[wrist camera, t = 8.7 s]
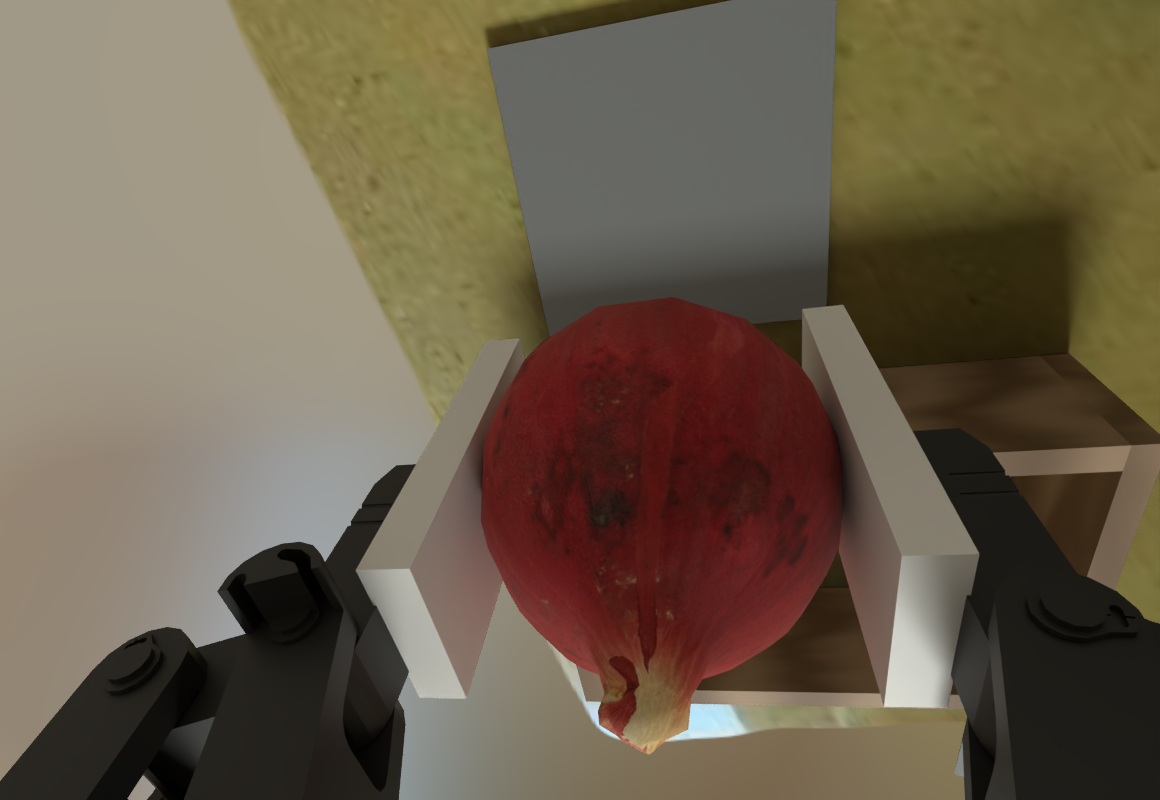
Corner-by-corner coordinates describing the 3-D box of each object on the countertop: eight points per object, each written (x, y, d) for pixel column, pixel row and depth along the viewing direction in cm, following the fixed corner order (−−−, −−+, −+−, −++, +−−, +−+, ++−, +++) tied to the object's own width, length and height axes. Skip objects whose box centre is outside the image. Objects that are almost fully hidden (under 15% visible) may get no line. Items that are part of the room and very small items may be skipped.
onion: (498, 264, 13) (300, 553, 6) (793, 212, 11) (956, 507, 5) (564, 484, 16) (478, 844, 9) (805, 463, 14) (916, 864, 8)
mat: (833, -21, 23) (837, -21, 22) (823, 311, 29) (826, 316, 29) (490, 47, 25) (486, 48, 25) (552, 338, 32) (550, 343, 31)
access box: (1069, 353, 29) (1169, 443, 23) (1006, 599, 37) (1068, 711, 31) (551, 394, 34) (525, 477, 28) (599, 603, 42) (586, 701, 36)
